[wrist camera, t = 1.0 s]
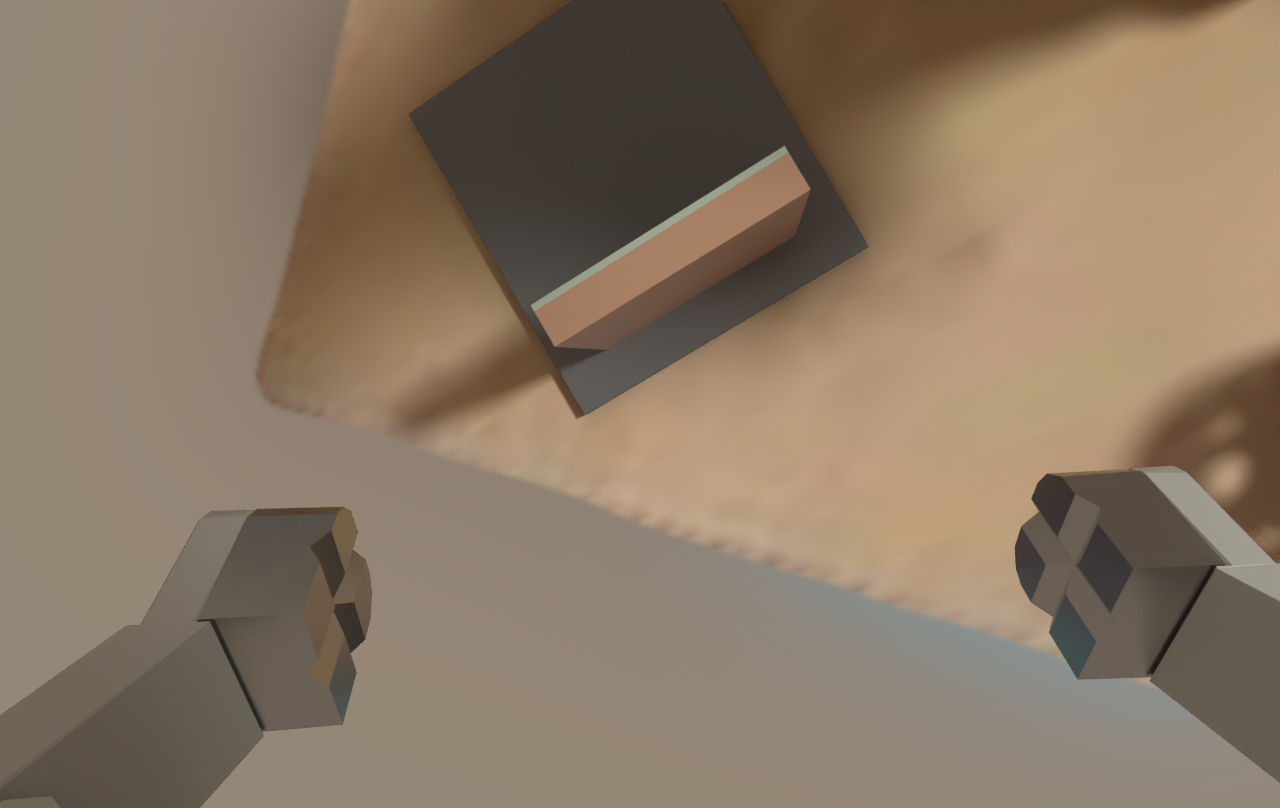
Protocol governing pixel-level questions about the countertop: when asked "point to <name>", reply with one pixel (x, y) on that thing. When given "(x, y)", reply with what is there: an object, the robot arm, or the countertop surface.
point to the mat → (624, 166)
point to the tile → (678, 257)
